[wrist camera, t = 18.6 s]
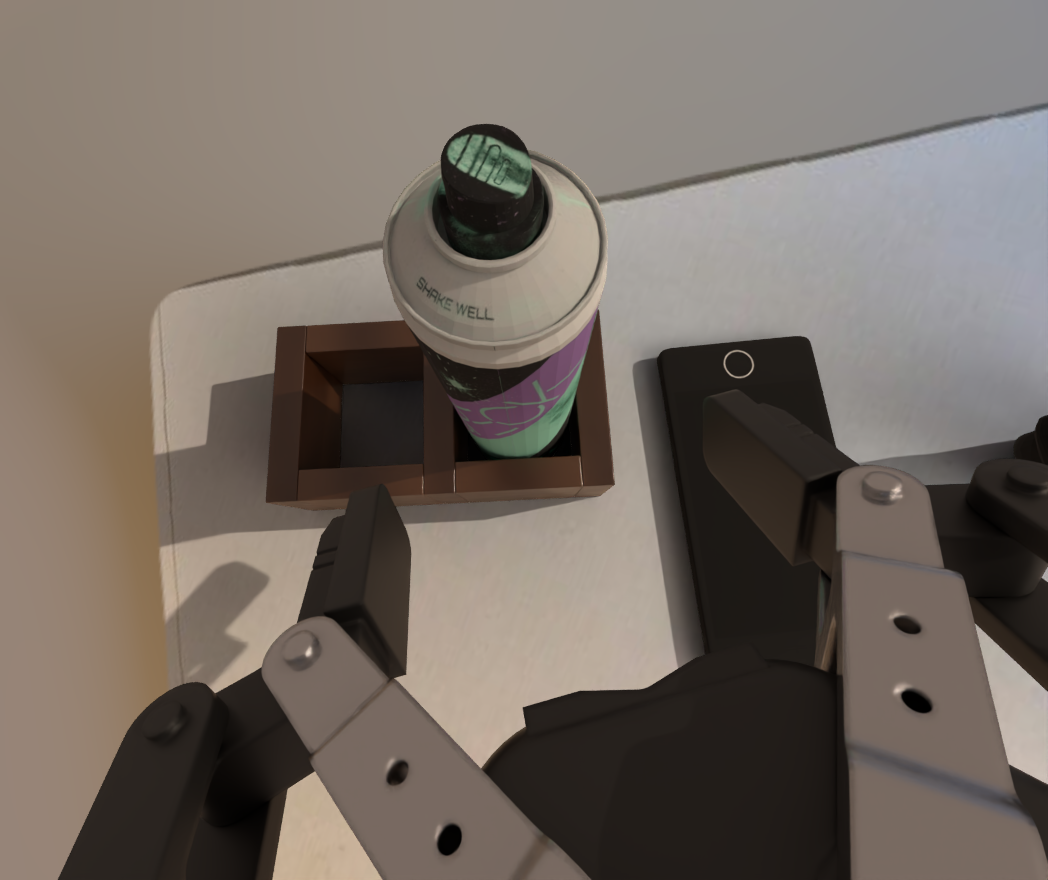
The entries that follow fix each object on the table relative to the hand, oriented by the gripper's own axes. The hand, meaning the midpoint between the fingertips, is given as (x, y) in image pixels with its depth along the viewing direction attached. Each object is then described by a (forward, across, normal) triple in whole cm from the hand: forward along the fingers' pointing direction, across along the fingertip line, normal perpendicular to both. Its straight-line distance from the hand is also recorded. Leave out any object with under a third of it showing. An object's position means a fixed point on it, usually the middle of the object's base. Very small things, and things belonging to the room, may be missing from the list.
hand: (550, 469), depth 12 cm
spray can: (+15, 0, +8) cm, 17 cm away
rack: (+15, +4, +7) cm, 17 cm away
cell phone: (+10, -12, +13) cm, 20 cm away
